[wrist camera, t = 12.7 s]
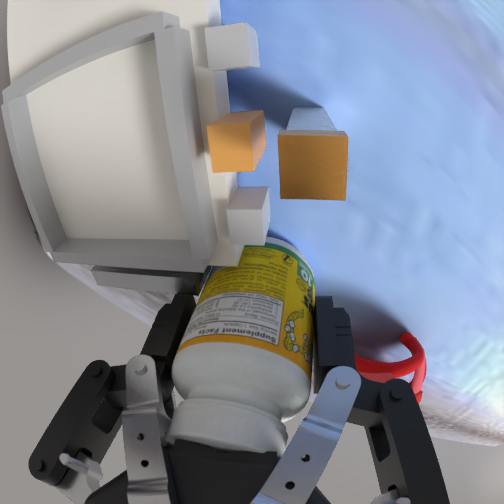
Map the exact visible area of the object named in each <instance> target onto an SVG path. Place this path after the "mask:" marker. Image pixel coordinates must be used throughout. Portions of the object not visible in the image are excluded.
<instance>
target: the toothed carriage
mask: <svg viewBox="0 0 504 504" xmlns="http://www.w3.org/2000/svg"><path fill="white" fill-rule="evenodd" d="M7 44H8V60H9V72H10V81H11V85H10V86H8V87H7V88H6V89H4V90H3V91H2V94H3V101H4V104H2V105H1V110H2V115H3V120H4V125H5V130H6V135H7V139H8V143H9V147H10V151H11V155H12V159H13V163H14V166H15V170H16V173H17V176H18V179H19V183H20V186H21V189H22V192H23V195H24V197H25V200H26V203H27V206H28V209H29V211H30V214H31V216H32V219H33V221H34V224H35V226H36V229H37V231H38V234H39V236H40V238H41V241H42V243H43V245H44V247H45V250H46V252H50V253H51V255H52V258H53V260H54V262H62V263H74V264H86V265H98V266H111V267H125V268H139V269H153V270H169V271H185V272H202V273H204V272H205V270H206V268H207V265H213V266H236V267H237V266H238V263H239V260H240V257H241V254H242V251H243V248H244V245H264V244H265V240H266V236H267V232H268V228H269V223H270V219H271V214H270V197H269V187H238V177H237V172H254V170H255V168H256V166H257V164H258V162H259V160H260V158H261V156H262V154H263V152H264V151H265V149H266V135H265V121H264V110H258V111H241V112H231V111H230V102H229V92H228V82H227V72H226V71H229V70H239V69H250V68H260V59H259V47H258V37H257V31H256V30H254V29H253V28H252V27H251V26H250V25H249V24H247V23H246V22H245V23H236V24H229V25H222V22H221V12H220V1H219V0H8V10H7Z"/></svg>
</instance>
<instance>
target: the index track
mask: <svg viewBox="0 0 504 504" xmlns="http://www.w3.org/2000/svg"><path fill="white" fill-rule="evenodd" d="M278 153H279V173H280V196H281V199H316V200H345V198H346V182H347V161H348V136H347V134H346V133H345V131H337V129H336V128H335V126H334V124H333V122H332V121H331V119H330V117H329V115H328V114H327V112H326V110H325V109H324V108H316V107H294V108H293V111H292V114H291V117H290V120H289V123H288V126H287V129H286V130H280V131H279V133H278ZM211 267H212V265H207V268H206V270H205V272H204V273H202V272H185V271H169V270H153V269H139V268H125V267H111V266H98V265H95V266H94V267H93V269H92V270H91V272H92V274H93V276H94V278H95V280H96V282H97V285H101V286H109V287H117V288H125V289H134V290H143V291H153V292H162V293H173V294H176V293H184V294H192V295H195V296H199V294H200V291H201V289H202V287H203V284H204V282H205V280H206V278H207V275H208V273H209V271H210V269H211Z"/></svg>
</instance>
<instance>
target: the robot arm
mask: <svg viewBox="0 0 504 504" xmlns="http://www.w3.org/2000/svg"><path fill="white" fill-rule="evenodd" d="M195 308H196V303H195V299H194V296H193V295H192V294H184V293H176V294H175V296H174V298H173V301H172V303H171V304H165V305H164V306H163V307H162V308H161V309H160V310H159V312H158V314H157V316H156V318H155V322H154V323H153V325H152V329H151V330H150V332H149V335H148V337H147V339H146V342H145V344H144V347H143V349H142V351H141V353H140V355H137V356H135V357H133V358H132V359H131V360H130V361H129V362H128V363H127V364H126V365H120V366H112V367H110V366H109V364H108V363H107V362H105V361H103V360H96V361H93V362H91V363H90V364H89V365H88V366H87V367H86V369H85V371H84V372H83V373H82V375H81V376H80V378H79V379H78V381H77V382H76V384H75V385H74V387H73V388H72V390H71V391H70V393H69V394H68V396H67V397H66V399H65V400H64V402H63V403H62V405H61V407H60V408H59V410H58V411H57V413H56V414H55V416H54V418H53V419H52V421H51V423H50V424H49V426H48V427H47V429H46V431H45V432H44V434H43V436H42V438H41V439H40V441H39V443H38V444H37V446H36V448H35V449H34V451H33V453H32V455H31V456H30V459H29V469H30V472H31V474H32V475H33V476H34V477H35V478H36V479H38V480H41V481H43V482H45V483H47V484H48V485H50V486H53V487H56V488H57V489H58V490H59V491H60V492H62V493H63V494H64V495H65V496H66V497H68V498H69V499H70V500H71V501H73V502H74V503H75V504H331V503H330V502H329V501H328V500H327V498H326V497H325V496H324V495H323V494H322V492H321V491H320V490H319V489H318V488H317V486H316V484H317V482H318V480H319V479H320V477H321V475H322V473H323V471H324V469H325V467H326V465H327V463H328V461H329V459H330V457H331V455H332V453H333V451H334V449H335V447H336V445H337V442H338V440H339V438H340V436H341V433H342V430H343V428H344V425H345V423H346V422H349V423H353V424H357V425H361V426H364V427H365V430H366V434H367V438H368V441H369V445H370V449H371V453H372V457H373V461H374V465H375V469H376V473H377V477H378V482H379V486H380V490H381V495H379V496H377V497H376V498H375V499H374V500H373V501H372V502H371V504H450V503H449V498H448V494H447V490H446V487H445V483H444V479H443V476H442V473H441V469H440V466H439V462H438V459H437V456H436V453H435V450H434V447H433V444H432V441H431V438H430V435H429V432H428V429H427V426H426V423H425V421H424V418H423V415H422V412H421V410H420V407H419V404H418V402H417V399H416V397H415V394H414V392H413V389H412V387H411V386H410V384H409V383H408V382H406V381H405V380H403V379H398V378H395V379H390V380H388V381H386V382H385V383H381V382H376V381H372V380H369V379H367V378H365V377H363V376H362V375H361V374H360V373H359V372H358V370H357V368H356V364H355V355H354V347H353V340H352V333H351V326H350V319H349V315H348V314H347V313H346V311H345V310H344V308H333V301H332V296H315V304H314V335H313V337H314V339H313V358H314V393H318V394H317V396H316V398H315V400H314V402H313V404H312V406H311V408H310V410H309V412H308V414H307V416H306V418H304V419H303V421H302V422H301V424H300V426H299V427H298V429H297V431H296V433H295V435H294V436H293V438H292V440H291V442H290V443H289V445H288V447H287V448H286V450H285V452H284V454H283V455H282V457H279V456H277V452H275V451H266V452H265V453H258V452H251V451H240V452H232V453H221V452H218V451H216V450H213V449H211V448H208V447H206V446H203V445H201V444H198V443H192V442H187V441H181V440H176V439H175V443H174V444H171V443H170V442H169V441H168V439H167V434H168V431H169V427H170V424H171V421H172V418H173V413H174V410H175V409H176V408H177V407H176V401H175V396H174V392H173V388H174V383H173V379H172V365H173V361H174V358H175V356H176V353H177V351H178V348H179V346H180V343H181V341H182V338H183V336H184V334H185V331H186V329H187V327H188V324H189V322H190V319H191V317H192V315H193V312H194V310H195ZM98 406H99V407H98ZM95 411H96V412H95ZM121 425H122V428H123V440H124V450H125V459H126V466H127V470H126V471H124V472H123V473H121V474H120V475H119V476H117V477H115V478H114V479H113V480H111V481H110V482H108V483H106V484H105V485H103V486H102V487H100V485H99V482H100V480H101V479H102V478H103V473H102V471H101V467H100V463H101V461H102V459H103V458H104V456H105V454H106V452H107V450H108V449H109V447H110V445H111V443H112V441H113V439H114V438H115V436H116V434H117V432H118V431H119V429H120V427H121Z"/></svg>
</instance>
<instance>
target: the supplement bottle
mask: <svg viewBox="0 0 504 504" xmlns="http://www.w3.org/2000/svg"><path fill="white" fill-rule="evenodd" d="M314 304H315V279H314V273H313V270H312V268H311V266H310V264H309V263H308V261H307V260H306V258H305V257H304V256H303V254H302V253H301V252H300V251H299V250H298V249H297V248H295V247H294V246H292V245H290V244H289V243H287V242H285V241H283V240H280V239H276V238H273V237H266V240H265V244H264V245H244V248H243V251H242V254H241V257H240V260H239V263H238V266H237V267H236V266H213V268H212V270H211V272H210V275H209V277H208V279H207V282H206V284H205V286H204V289H203V291H202V293H201V296H200V298H199V300H198V303H197V305H196V308H195V310H194V312H193V315H192V317H191V319H190V322H189V324H188V327H187V329H186V331H185V334H184V336H183V338H182V341H181V343H180V346H179V348H178V351H177V353H176V356H175V358H174V361H173V365H172V379H173V383H174V385H175V388H176V389H177V391H178V393H179V394H180V395H181V397H182V398H183V399H184V401H182V402H181V403H180V404H179V405H178V407H177V408H176V409H175V410H174V413H173V418H172V421H171V424H170V427H169V431H168V434H167V439H168V441H169V442H170V443H171V444H174V443H175V439H176V440H181V441H187V442H192V443H198V444H201V445H203V446H206V447H208V448H211V449H213V450H216V451H218V452H221V453H232V452H240V451H251V452H258V453H265V452H266V451H275V452H277V456H279V457H282V455H283V454H284V452H285V449H286V443H287V439H288V434H287V432H286V427H285V425H284V424H283V423H282V422H285V421H287V420H289V419H291V418H293V417H294V416H296V415H297V414H298V413H299V412H300V411H301V410H302V409H303V408H304V407H305V405H306V403H307V401H308V399H309V396H310V390H311V377H312V361H313V339H314V337H313V335H314Z"/></svg>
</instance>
